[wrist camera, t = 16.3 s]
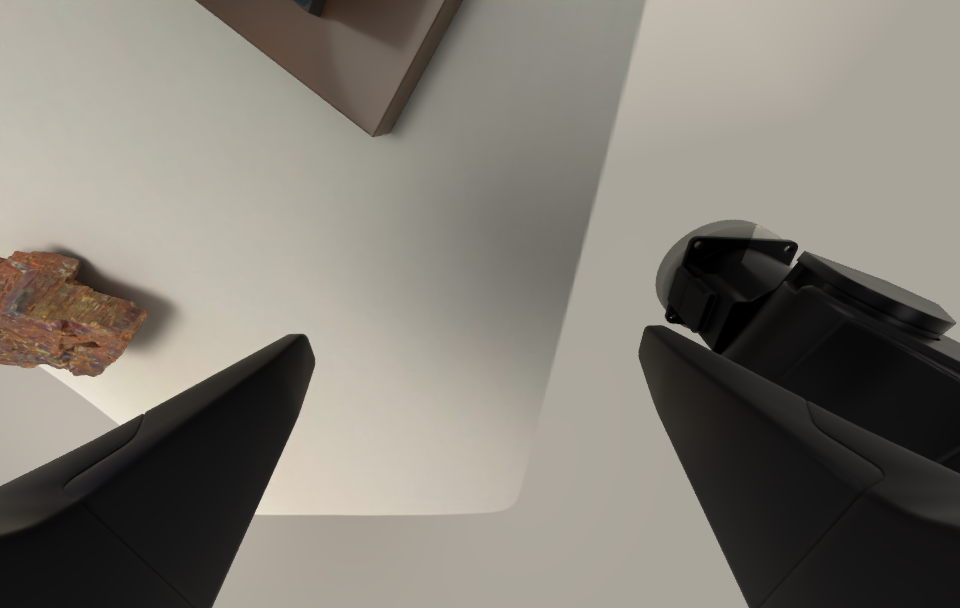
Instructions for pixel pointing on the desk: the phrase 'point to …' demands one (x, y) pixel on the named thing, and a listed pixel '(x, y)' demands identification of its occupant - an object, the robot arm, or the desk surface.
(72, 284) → the mineral specimen
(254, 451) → the robot arm
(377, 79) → the brown lipped tray
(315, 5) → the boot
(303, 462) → the desk surface
